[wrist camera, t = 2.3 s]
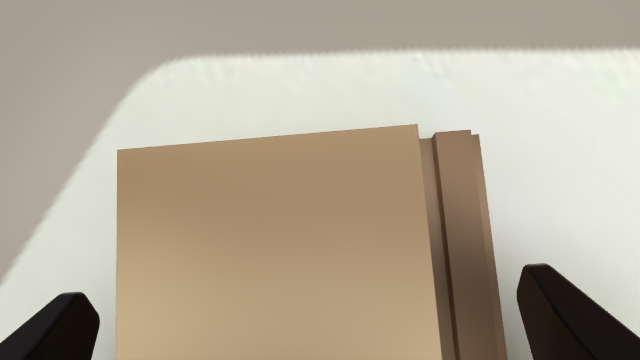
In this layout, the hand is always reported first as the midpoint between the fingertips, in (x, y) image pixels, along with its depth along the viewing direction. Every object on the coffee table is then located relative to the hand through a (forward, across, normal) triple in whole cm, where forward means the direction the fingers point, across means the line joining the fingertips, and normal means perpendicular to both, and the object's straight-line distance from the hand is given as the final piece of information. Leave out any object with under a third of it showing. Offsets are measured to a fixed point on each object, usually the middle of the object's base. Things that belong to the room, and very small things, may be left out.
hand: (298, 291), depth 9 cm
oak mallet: (+3, 0, +7) cm, 7 cm away
